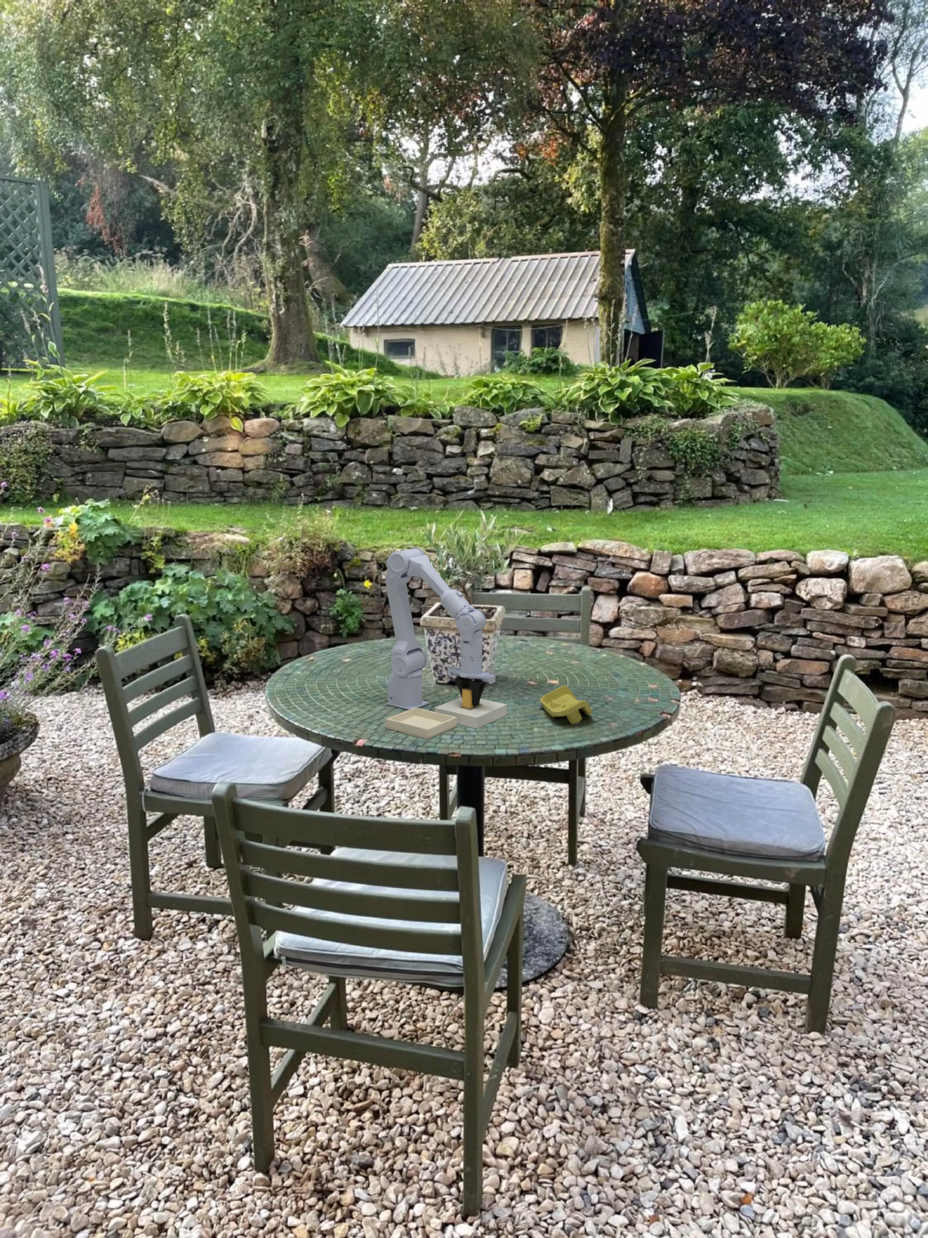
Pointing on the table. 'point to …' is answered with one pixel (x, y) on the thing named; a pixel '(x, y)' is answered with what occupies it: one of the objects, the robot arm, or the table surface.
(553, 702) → the plastic component
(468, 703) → the fuse
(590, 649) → the table surface
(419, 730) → the parts tray
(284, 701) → the table surface
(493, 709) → the fuse block
